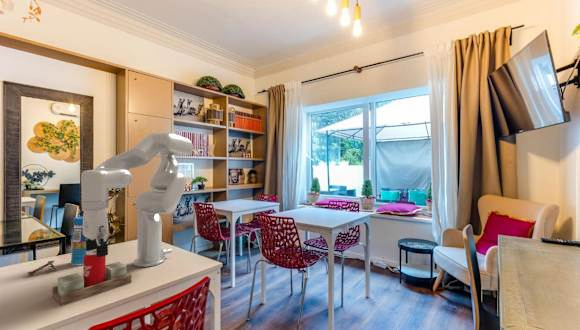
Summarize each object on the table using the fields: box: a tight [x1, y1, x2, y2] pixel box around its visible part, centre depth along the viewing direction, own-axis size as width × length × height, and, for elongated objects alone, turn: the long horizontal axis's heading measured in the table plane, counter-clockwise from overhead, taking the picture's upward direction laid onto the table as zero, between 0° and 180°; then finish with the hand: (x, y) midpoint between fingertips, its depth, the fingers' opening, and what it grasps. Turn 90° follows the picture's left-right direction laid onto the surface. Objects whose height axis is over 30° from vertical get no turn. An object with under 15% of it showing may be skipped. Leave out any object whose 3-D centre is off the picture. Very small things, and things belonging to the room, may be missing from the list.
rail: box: [52, 261, 132, 306], centre depth 92 cm, size 20×10×6 cm, turn 145°
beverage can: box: [82, 249, 107, 288], centre depth 92 cm, size 6×6×12 cm
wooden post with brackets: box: [27, 260, 57, 277], centre depth 103 cm, size 2×8×4 cm, turn 134°
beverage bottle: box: [70, 215, 91, 267], centre depth 115 cm, size 8×8×20 cm
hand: (96, 252), depth 92 cm, fingers open, 9 cm apart
